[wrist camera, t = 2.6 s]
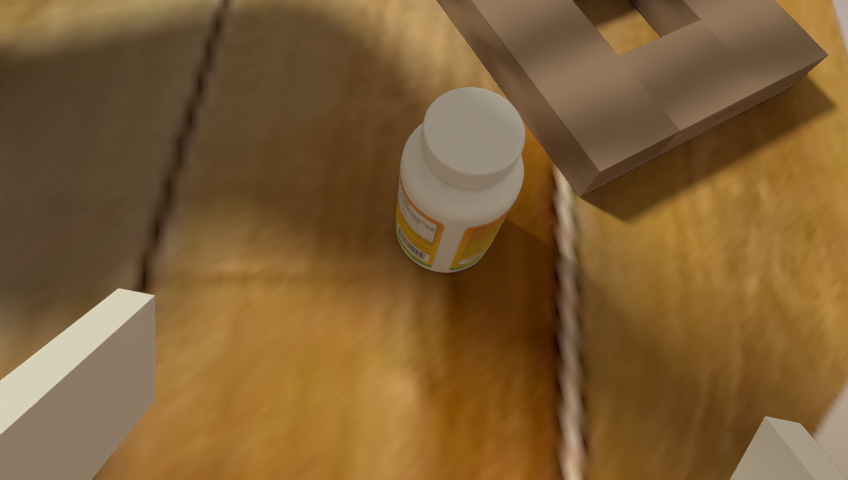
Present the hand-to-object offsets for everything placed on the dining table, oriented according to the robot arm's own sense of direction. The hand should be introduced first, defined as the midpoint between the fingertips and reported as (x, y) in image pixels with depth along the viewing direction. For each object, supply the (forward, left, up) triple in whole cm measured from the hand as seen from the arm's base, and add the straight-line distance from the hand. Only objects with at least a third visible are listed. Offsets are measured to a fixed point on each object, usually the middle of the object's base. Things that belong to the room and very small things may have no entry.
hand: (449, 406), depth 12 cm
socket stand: (-15, +24, -15) cm, 32 cm away
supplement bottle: (-8, +7, -15) cm, 18 cm away
